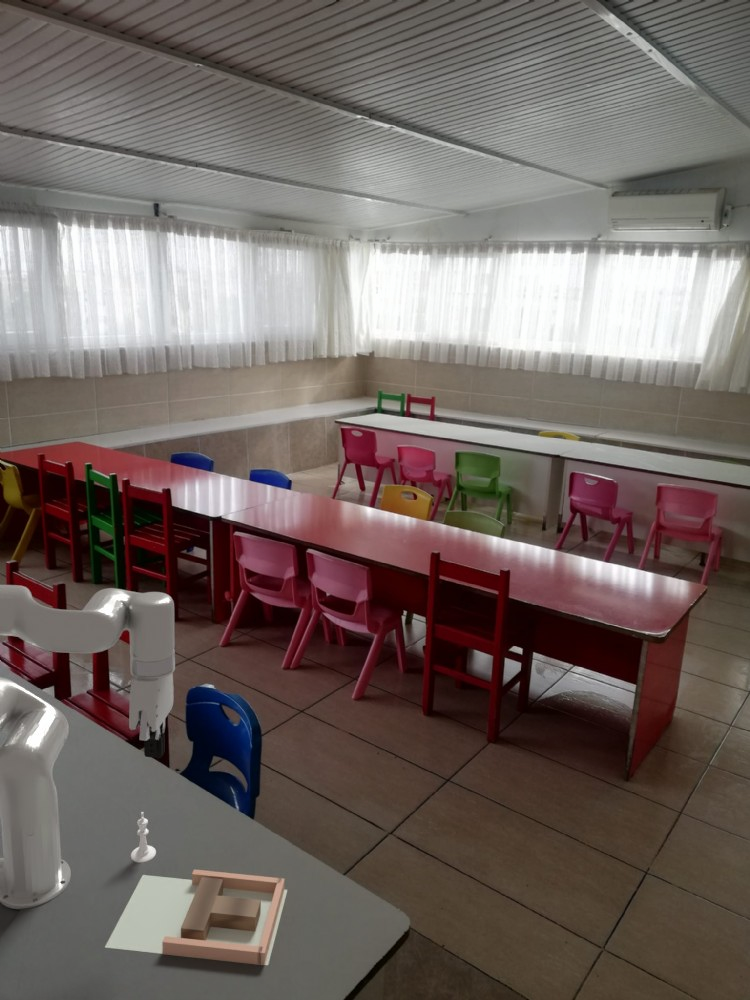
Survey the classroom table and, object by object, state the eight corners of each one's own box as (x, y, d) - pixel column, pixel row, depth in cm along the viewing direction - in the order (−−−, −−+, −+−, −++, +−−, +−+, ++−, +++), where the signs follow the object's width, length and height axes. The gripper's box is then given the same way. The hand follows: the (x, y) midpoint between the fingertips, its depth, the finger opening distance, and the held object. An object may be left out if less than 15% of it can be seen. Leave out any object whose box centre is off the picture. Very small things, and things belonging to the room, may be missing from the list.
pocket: (162, 953, 125) (162, 941, 125) (194, 880, 142) (193, 869, 141) (264, 964, 124) (264, 953, 124) (284, 889, 141) (284, 878, 140)
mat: (104, 950, 126) (104, 947, 126) (142, 877, 143) (142, 874, 142) (268, 968, 124) (268, 965, 124) (287, 892, 141) (287, 889, 141)
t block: (180, 942, 128) (180, 928, 127) (202, 890, 139) (202, 877, 139) (249, 950, 127) (250, 935, 126) (265, 897, 139) (265, 883, 138)
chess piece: (129, 867, 145) (128, 822, 143) (130, 849, 150) (129, 806, 147) (156, 863, 146) (155, 819, 144) (156, 846, 151) (155, 803, 149)
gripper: (147, 642, 139) (149, 731, 143) (114, 680, 124) (117, 777, 128) (187, 646, 138) (188, 734, 142) (158, 684, 124) (160, 781, 128)
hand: (154, 754), depth 135 cm, fingers closed
